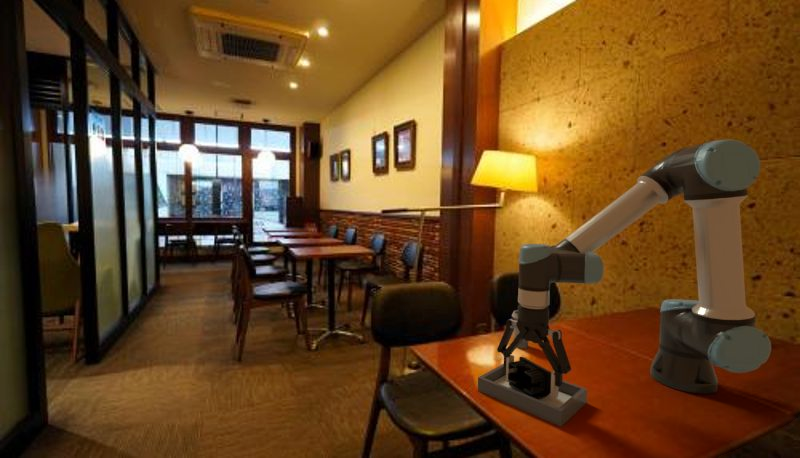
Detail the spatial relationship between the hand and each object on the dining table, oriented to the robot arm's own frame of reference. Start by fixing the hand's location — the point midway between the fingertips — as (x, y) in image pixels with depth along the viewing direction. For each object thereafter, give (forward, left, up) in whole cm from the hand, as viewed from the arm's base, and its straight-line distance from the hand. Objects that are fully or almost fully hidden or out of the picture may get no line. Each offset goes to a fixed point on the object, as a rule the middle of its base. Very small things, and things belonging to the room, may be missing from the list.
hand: (531, 388), depth 95 cm
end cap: (0, 0, -1) cm, 1 cm away
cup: (+19, -30, -2) cm, 36 cm away
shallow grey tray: (0, 0, -2) cm, 2 cm away
